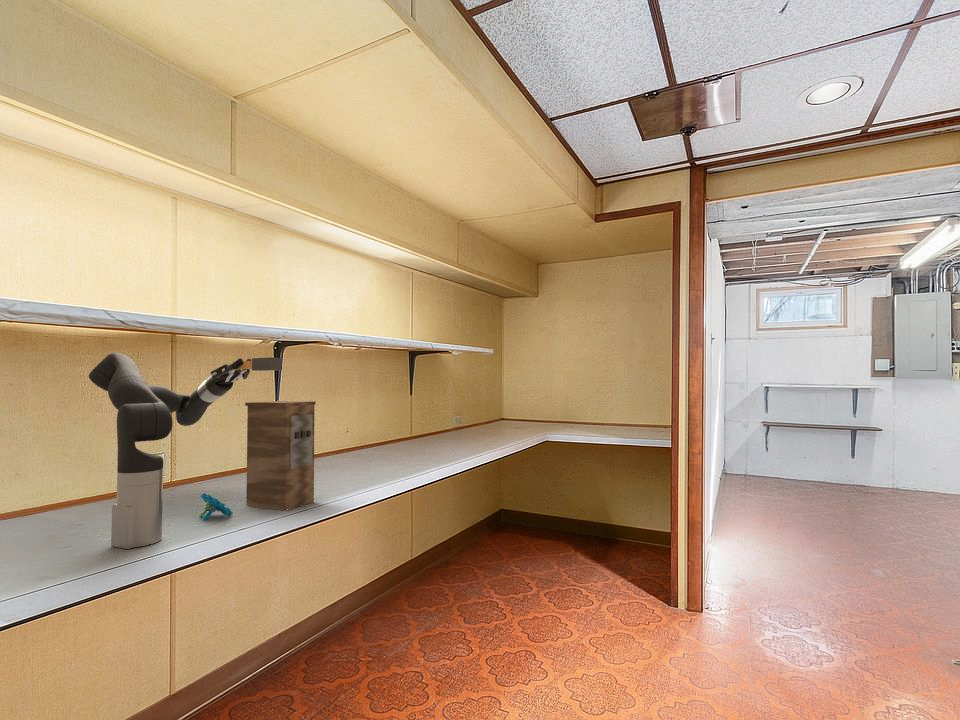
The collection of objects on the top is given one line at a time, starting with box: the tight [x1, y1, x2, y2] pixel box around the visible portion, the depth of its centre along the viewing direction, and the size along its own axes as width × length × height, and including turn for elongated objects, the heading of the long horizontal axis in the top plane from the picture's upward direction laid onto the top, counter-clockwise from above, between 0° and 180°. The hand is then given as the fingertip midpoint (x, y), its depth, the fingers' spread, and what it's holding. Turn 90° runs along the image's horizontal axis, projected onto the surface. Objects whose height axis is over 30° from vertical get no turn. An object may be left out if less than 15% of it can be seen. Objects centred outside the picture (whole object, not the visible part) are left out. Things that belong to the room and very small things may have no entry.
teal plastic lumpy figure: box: [199, 492, 233, 522], centre depth 140 cm, size 11×6×10 cm
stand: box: [244, 400, 317, 511], centre depth 158 cm, size 13×18×32 cm
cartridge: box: [232, 356, 283, 372], centre depth 164 cm, size 5×18×4 cm, turn 66°
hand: (246, 360), depth 166 cm, fingers closed on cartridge, 3 cm apart
